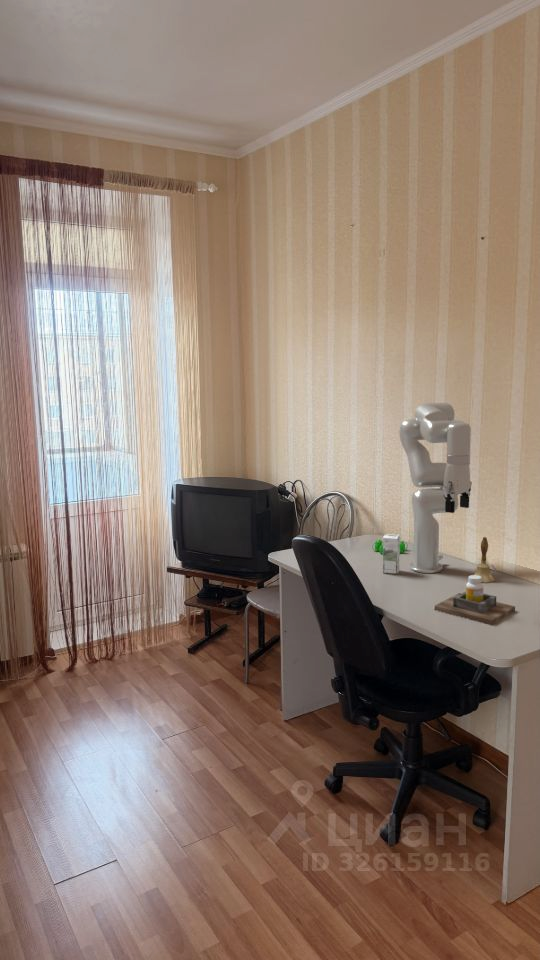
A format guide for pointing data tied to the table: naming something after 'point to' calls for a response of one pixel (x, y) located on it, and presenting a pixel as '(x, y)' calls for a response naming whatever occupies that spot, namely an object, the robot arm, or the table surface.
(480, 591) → the supplement bottle
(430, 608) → the table surface
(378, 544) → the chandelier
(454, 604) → the socket plate
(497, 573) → the table surface
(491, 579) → the hand bell
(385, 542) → the syrup box
